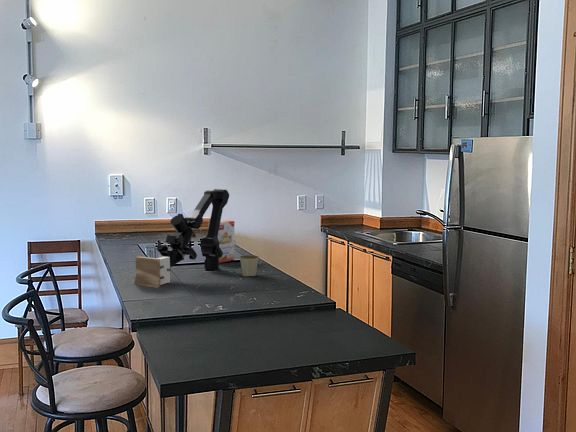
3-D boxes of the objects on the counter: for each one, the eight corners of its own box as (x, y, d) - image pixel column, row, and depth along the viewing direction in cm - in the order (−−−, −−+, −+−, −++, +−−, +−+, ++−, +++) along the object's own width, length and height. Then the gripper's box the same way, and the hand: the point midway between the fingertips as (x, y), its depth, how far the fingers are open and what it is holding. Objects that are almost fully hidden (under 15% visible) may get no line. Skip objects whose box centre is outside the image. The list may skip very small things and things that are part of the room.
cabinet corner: (154, 278, 290) (153, 251, 289) (179, 281, 283) (179, 254, 282) (131, 284, 277) (131, 256, 275) (157, 287, 270) (156, 259, 269)
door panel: (164, 281, 281) (164, 256, 280) (172, 282, 279) (172, 257, 278) (152, 284, 274) (152, 259, 273) (160, 285, 272) (160, 260, 271)
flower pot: (256, 277, 292) (256, 258, 291) (236, 276, 294) (236, 258, 293) (261, 273, 302) (261, 255, 301) (242, 272, 303) (242, 254, 302)
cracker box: (216, 264, 325) (216, 223, 322) (207, 262, 328) (207, 222, 326) (235, 260, 336) (234, 220, 334) (226, 259, 339) (226, 219, 337)
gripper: (158, 226, 288) (142, 254, 279) (192, 229, 279) (177, 258, 271) (170, 241, 296) (154, 269, 287) (203, 244, 287) (188, 273, 279)
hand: (168, 267), depth 281 cm, fingers closed
